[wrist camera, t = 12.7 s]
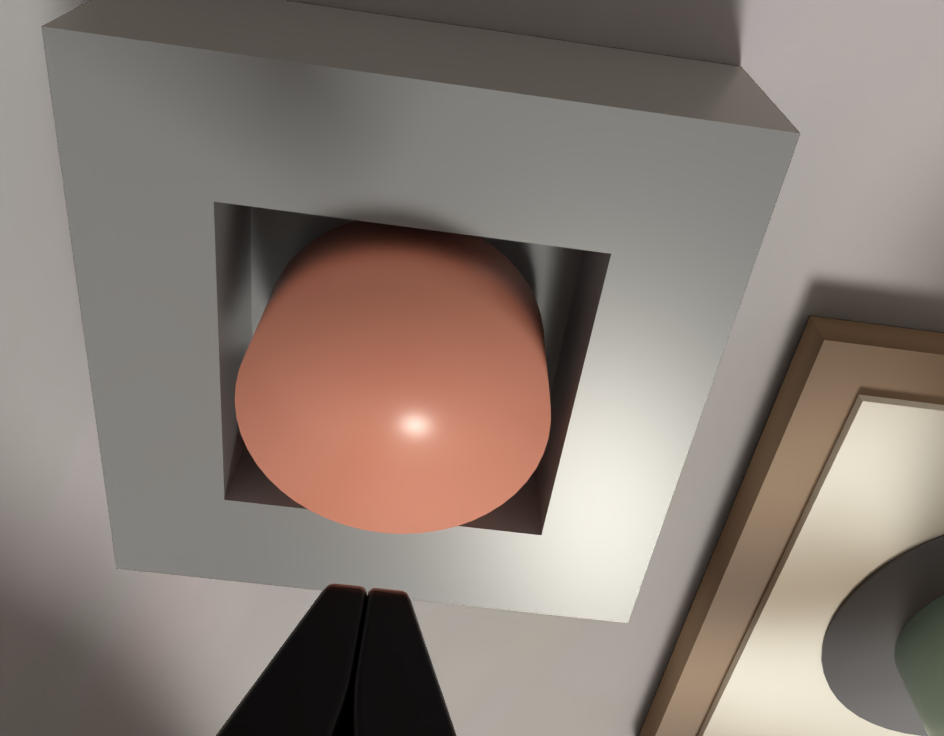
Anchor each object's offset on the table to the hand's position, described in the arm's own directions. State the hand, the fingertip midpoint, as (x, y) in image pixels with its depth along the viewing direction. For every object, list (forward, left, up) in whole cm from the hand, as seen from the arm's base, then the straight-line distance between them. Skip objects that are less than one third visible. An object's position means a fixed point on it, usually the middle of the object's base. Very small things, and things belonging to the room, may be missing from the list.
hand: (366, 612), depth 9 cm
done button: (0, 0, -6) cm, 6 cm away
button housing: (0, 0, -7) cm, 7 cm away
